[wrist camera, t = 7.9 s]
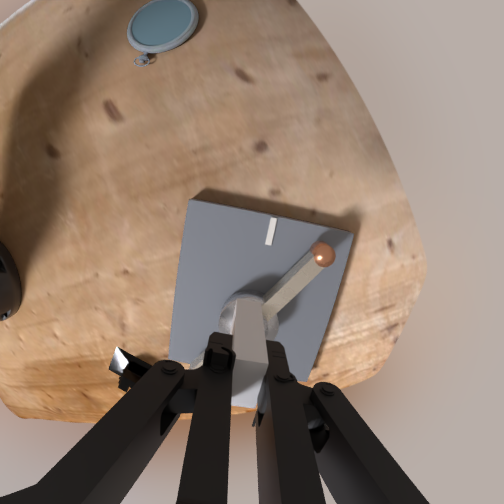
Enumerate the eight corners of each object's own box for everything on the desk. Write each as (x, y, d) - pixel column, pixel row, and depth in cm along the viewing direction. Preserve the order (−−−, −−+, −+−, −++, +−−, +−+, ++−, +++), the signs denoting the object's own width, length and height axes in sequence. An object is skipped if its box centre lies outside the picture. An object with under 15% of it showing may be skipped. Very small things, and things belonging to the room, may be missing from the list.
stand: (171, 351, 40) (167, 359, 38) (192, 198, 35) (188, 199, 33) (304, 373, 41) (306, 382, 39) (348, 231, 36) (354, 234, 34)
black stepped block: (101, 365, 42) (90, 381, 37) (111, 335, 40) (99, 350, 36) (166, 400, 43) (161, 418, 39) (182, 373, 42) (177, 391, 37)
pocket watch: (211, -54, 18) (148, 40, 21) (219, -8, 28) (174, 75, 31) (136, -56, 17) (73, 34, 20) (157, -15, 27) (111, 64, 30)
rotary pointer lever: (177, 347, 37) (169, 367, 33) (305, 221, 33) (314, 227, 29) (216, 377, 38) (213, 399, 34) (343, 261, 35) (357, 273, 30)
